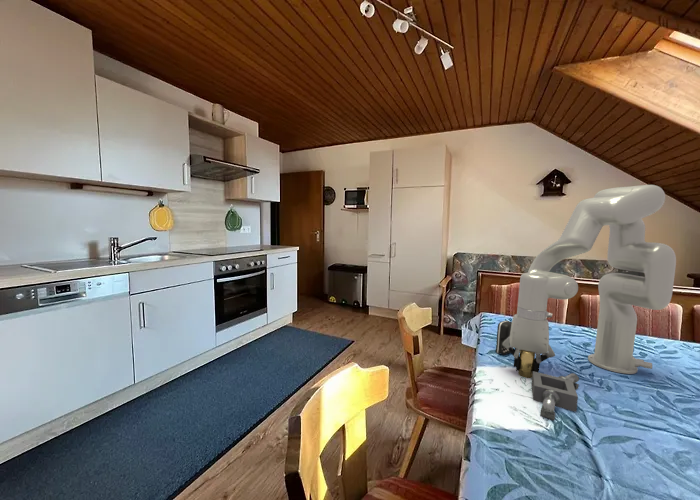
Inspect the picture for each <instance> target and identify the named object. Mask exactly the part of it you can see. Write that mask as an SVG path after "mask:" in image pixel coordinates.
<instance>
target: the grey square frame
mask: <svg viewBox="0 0 700 500" xmlns="http://www.w3.org/2000/svg"><path fill="white" fill-rule="evenodd" d="M530 383H531V394H532V395H531V396H532V400H533V401H535V402H537V403H538V402H539V403H542V404H543V401H544V400H543V398H542V394H543V391H544V390H546V389H551V390H554V391H555V392H557V393H558V395H559V397H560V400H559V403H558V404H557V405H555V408H560V409H563V410H567V411H571V412H575V413H577V409H578V400H579V396H578V393H577V391H576V390H575V387H574V385H573V382H572V380H565V379H563V378H560V377H559V376H554V375H551V374H546V373H542V372H540V371H539V372H534V371H533V373H532V378H531V382H530Z"/></svg>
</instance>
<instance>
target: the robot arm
mask: <svg viewBox="0 0 700 500" xmlns="http://www.w3.org/2000/svg"><path fill="white" fill-rule="evenodd" d="M665 202H666V193H665V191H664V190H663V188H662V187H661V186H658V185H655V184H643V185H642V184H641V185H634V186H633V185H632V186H619V187H611V188H606V189H602V190H599V191H598V192H596V193H595V194H594V196H593V197H589V198H586V199H585V198H584V199H582V200H581V201H579V202H578V203H577V205H576V206H575V207H574V210H573V212H571V213H572V214H571V215H570V218H569V219H568V221H567V223H566V225H565V227H564V229H563V231H562V233H561V235H560V237H559V239H558V240H556V241H555V242H553V243H552V244H550V245H548V247H546V248H545V249H544V250H542V251H541V252H540V253H538V254H537V255H536V256H535V258H534V259H533V260H532V262H531V265H530V266H529V269H528V271H527V272H523V273H522V274H521V275H520V279H519V287H518V298H517V308H516V314H513V316H512V321H511V322H512V324H511V331H510V336H509V337H508V338H507V339H506V340H505V341H504V342H503V346H504V347H505V348H506V349H508V350H509V351H510V353H509V354H511V355H512V357H513V367H514V368H515V371H516V372H518V371H519V361H520V358H519V356H520V350H525V351H529V352H534V353H535V360H534V369H533V371H534V372H539V373H540V364H541V363H542V362H544V361H546V360H547V359H550V358H554V357H556V354H555V353H556V352H554V350H553V347H551V345H550V344H549V343H550V329H549V328H550V326H549V320H548V318H550V319H551V318H552V317H553V313H552V312H548V311H547V309H548V300H549V299H553V300H554V299H555V300H563V301H565V300H569V299H571V298H574V297H575V296H576V295H577V293H578V291H579V285H578V281H576V279H575V278H573V277H572V276H570V275H567V274H562V273H557V272H553V271H551V269H552V268H553V267H554V266H555V265H557V264H558V263H559V262H562V261H563V260H566V259H568V258H572V257H576V256H579V255H582V254H586V253H588V252H589V251H591V250H592V249H593V246H594V245H595V242H596V241H597V238H598V236H599V234H600V232H601V230H602V229H603V227H604V226H608V227H609V234H608V235H609V237H608V245H607V246H608V247H607V263H608V265H609V266H610V267H611V268H612V267H613V268H614V269H618V270H622V271H623V270H624V271H629V272H630V271H631V272H637V273H644V276H641V275H640V276H639V275H634V274H628V273H620V272H611V273H609V272H608V273H607V274H604V275H602V277H601V278H600V279H599V281H598V285H597V287H598V296H599V312H598V320H597V329H596V336H595V345H594V353H590V354H588V355H587V359H588V361H589V363H591V364H593V365H595V366H597V367H599V368H601V369H604V370H607V371H611V372H615V373H617V374H618V373H619V374H624V375H634V374H636V373H638V370H639V369H638V368H639V367H641V368H645V369H649V370H652V369H653V363H652V362H648V361H644V359H641V358H636V357H634V347H635V340H636V339H635V338H636V334H637V333H636V332H637V325H638V315H637V313H636V311H635V308H634V307H633V306H635V307H638V308H643V309H648V310H651V311H652V310H654V311H660V310H664V309H665V308H667V306H669V304H670V303H671V300H672V297H673V290H674V283H675V275H676V267H677V256H676V252H675V251H674V249H673V248H672V247H671V246H669V245H668V244H665V243H660V242H647V241H646V239H645V238H646V224H645V222H644V220H643V218H646V217H649V216H651V215H654V214H656V212H658V211H659V210H660V209H661V208H662V207H663V206H664V203H665ZM509 343H510V345H509Z"/></svg>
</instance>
